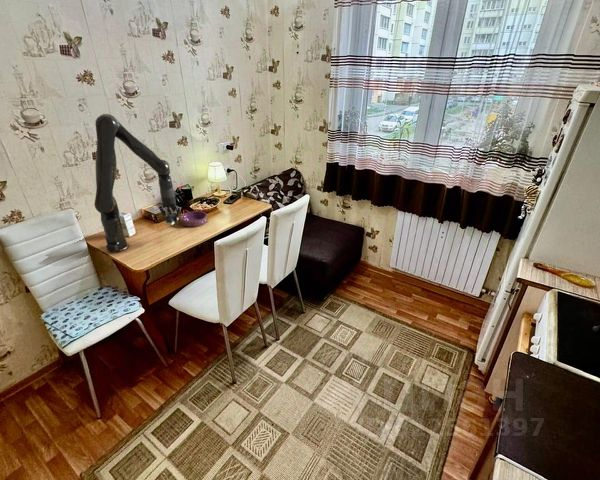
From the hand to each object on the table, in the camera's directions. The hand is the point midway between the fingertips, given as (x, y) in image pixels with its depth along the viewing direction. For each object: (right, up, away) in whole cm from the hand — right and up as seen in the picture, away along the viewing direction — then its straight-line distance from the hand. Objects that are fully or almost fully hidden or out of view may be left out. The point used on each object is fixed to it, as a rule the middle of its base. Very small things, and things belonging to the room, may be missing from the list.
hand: (172, 221), depth 185 cm
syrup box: (-33, -8, +11) cm, 35 cm away
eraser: (0, 0, 0) cm, 0 cm away
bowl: (+3, +2, +29) cm, 29 cm away
